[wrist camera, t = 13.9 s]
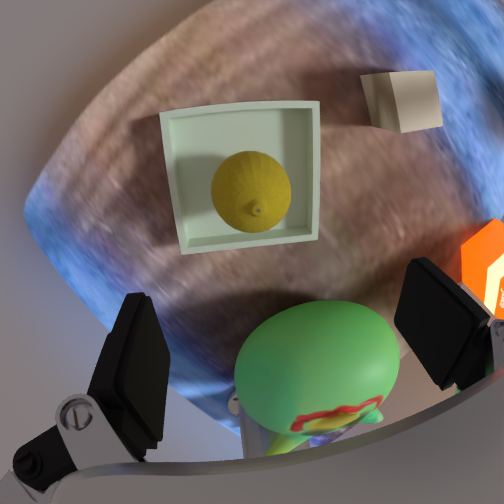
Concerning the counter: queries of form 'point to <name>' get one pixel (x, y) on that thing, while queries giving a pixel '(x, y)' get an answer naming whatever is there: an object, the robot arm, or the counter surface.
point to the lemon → (251, 191)
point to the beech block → (402, 100)
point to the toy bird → (316, 370)
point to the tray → (227, 144)
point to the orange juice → (486, 266)
